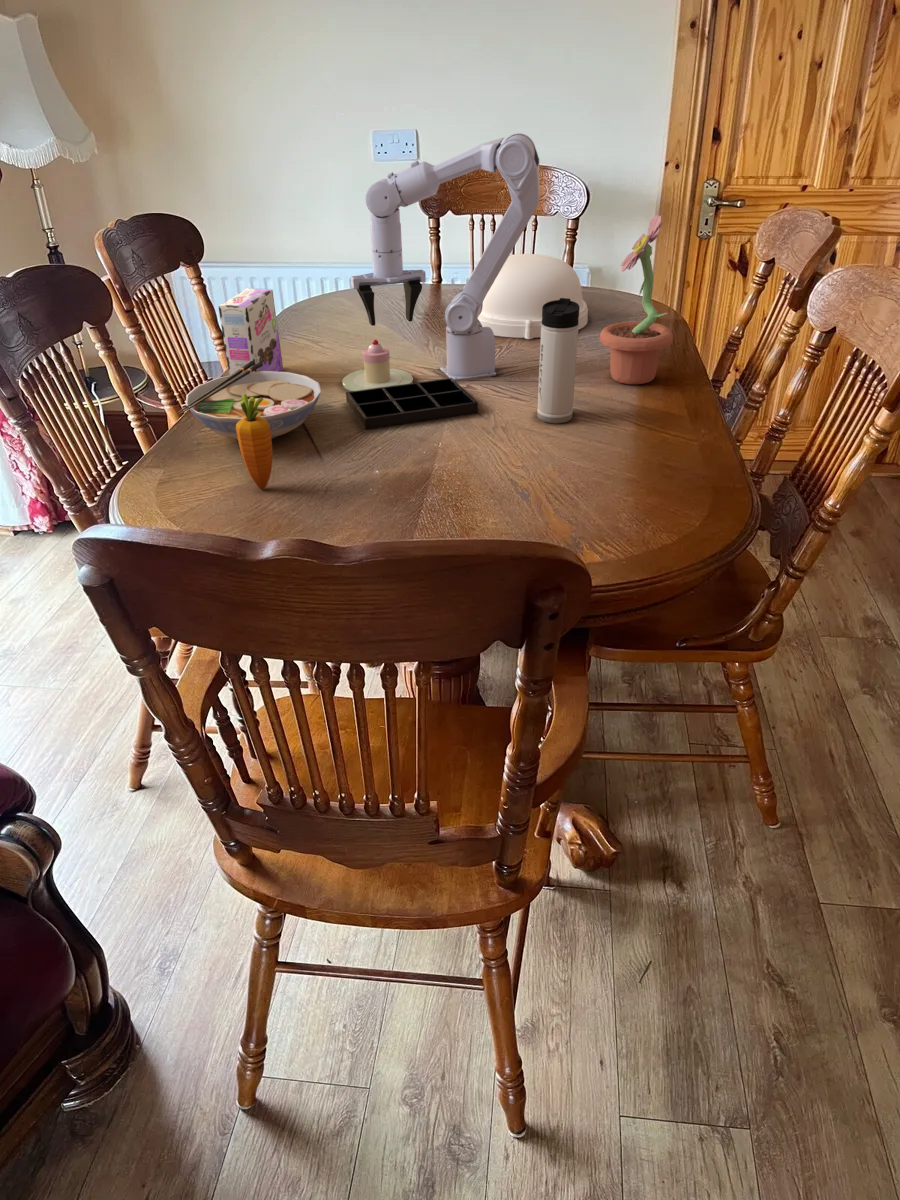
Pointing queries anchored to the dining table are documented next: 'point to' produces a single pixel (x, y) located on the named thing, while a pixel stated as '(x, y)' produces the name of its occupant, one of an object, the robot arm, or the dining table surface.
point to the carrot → (255, 442)
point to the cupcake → (376, 363)
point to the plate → (358, 382)
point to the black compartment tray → (410, 403)
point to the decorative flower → (638, 324)
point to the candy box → (251, 331)
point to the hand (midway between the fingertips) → (390, 322)
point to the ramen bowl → (280, 406)
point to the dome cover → (529, 295)
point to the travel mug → (557, 360)
